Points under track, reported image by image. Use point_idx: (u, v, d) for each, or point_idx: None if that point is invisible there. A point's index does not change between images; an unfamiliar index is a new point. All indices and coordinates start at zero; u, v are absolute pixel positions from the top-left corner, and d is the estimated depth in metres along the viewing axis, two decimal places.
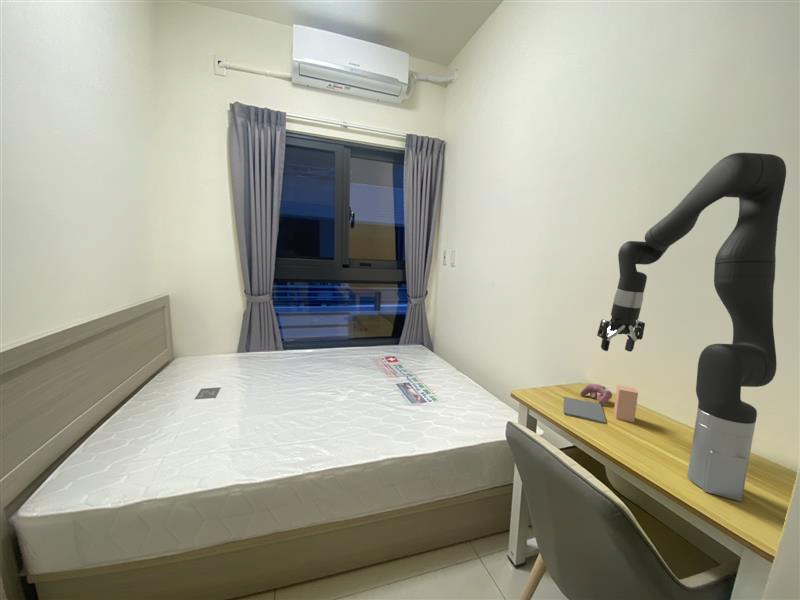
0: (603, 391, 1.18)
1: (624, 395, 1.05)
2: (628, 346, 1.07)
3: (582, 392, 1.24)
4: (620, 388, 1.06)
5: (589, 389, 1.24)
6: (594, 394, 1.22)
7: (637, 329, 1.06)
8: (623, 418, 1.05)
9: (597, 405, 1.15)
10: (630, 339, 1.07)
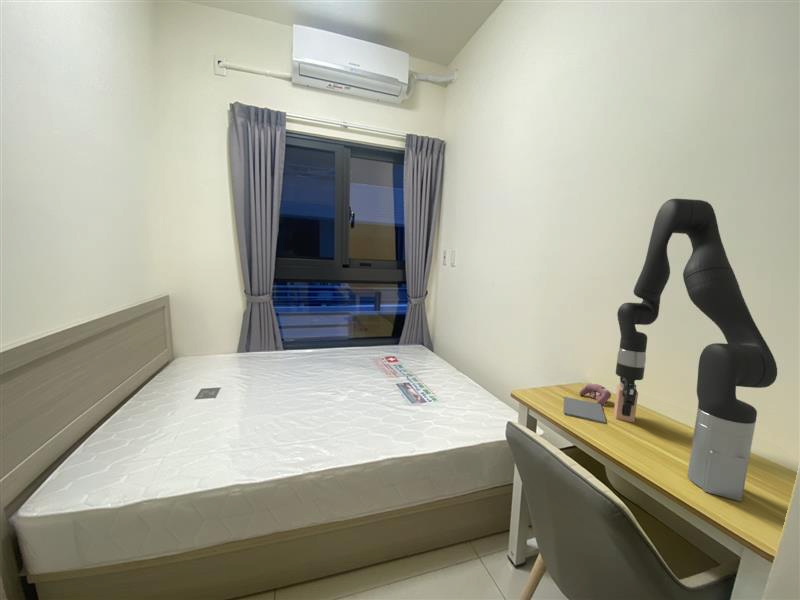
0: (602, 391, 1.18)
1: None
2: None
3: (581, 392, 1.24)
4: (621, 388, 1.06)
5: (588, 389, 1.24)
6: (593, 394, 1.22)
7: None
8: (623, 418, 1.05)
9: (597, 405, 1.15)
10: None
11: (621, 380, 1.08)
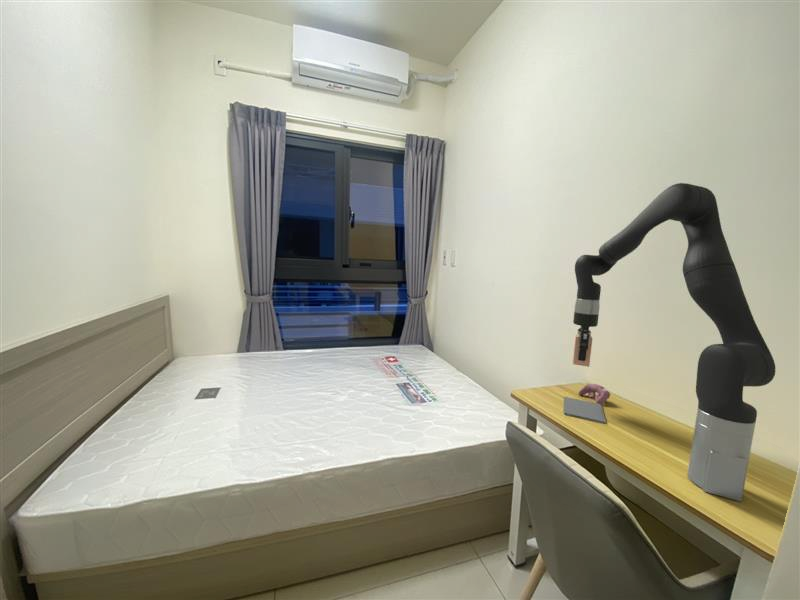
0: (601, 391, 1.19)
1: None
2: None
3: (580, 392, 1.25)
4: (577, 336, 1.14)
5: (587, 389, 1.24)
6: (592, 394, 1.23)
7: None
8: (579, 363, 1.13)
9: (597, 405, 1.15)
10: None
11: (578, 329, 1.16)
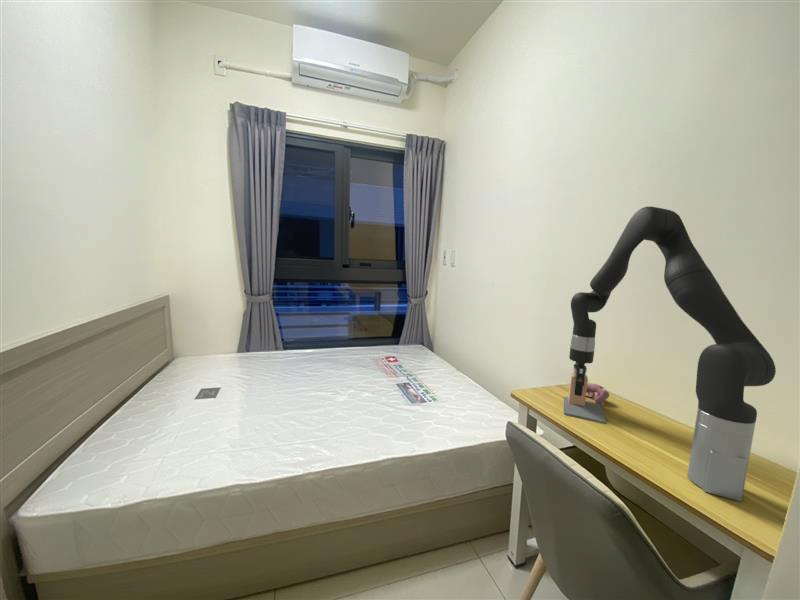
0: (600, 391, 1.19)
1: None
2: None
3: None
4: (573, 375, 1.15)
5: (587, 389, 1.24)
6: (592, 394, 1.23)
7: None
8: (575, 402, 1.15)
9: (597, 405, 1.15)
10: None
11: (574, 364, 1.17)
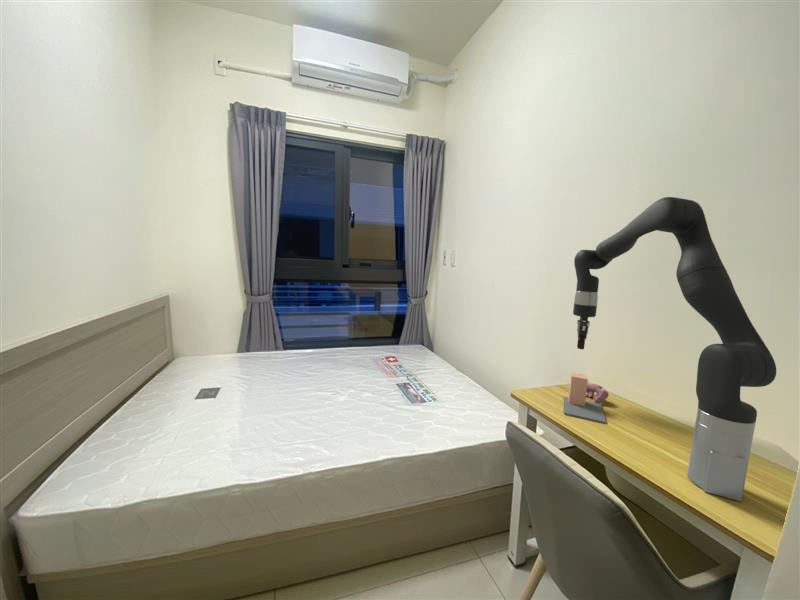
0: (599, 390, 1.19)
1: (576, 381, 1.14)
2: None
3: None
4: (573, 375, 1.15)
5: None
6: (591, 393, 1.23)
7: None
8: (575, 402, 1.15)
9: (597, 405, 1.15)
10: None
11: None
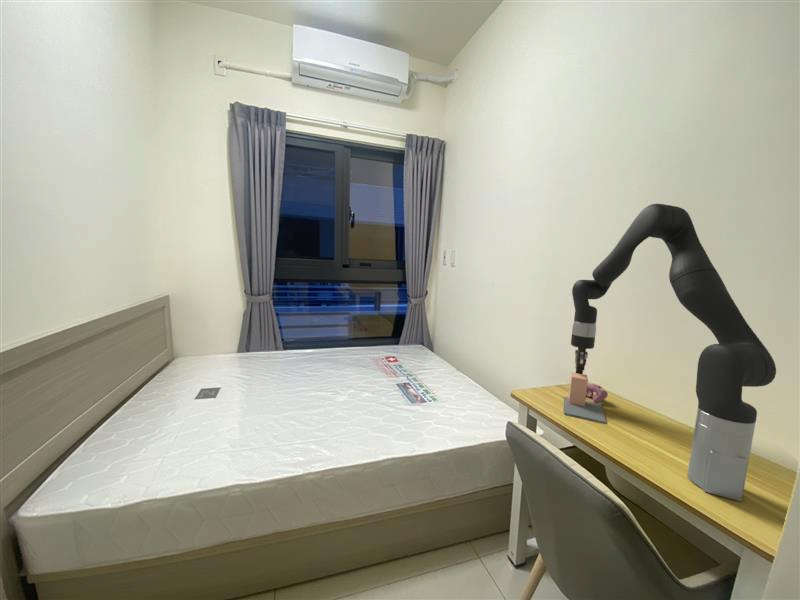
0: (598, 390, 1.19)
1: (576, 382, 1.14)
2: None
3: None
4: (573, 375, 1.15)
5: None
6: (590, 393, 1.23)
7: None
8: (575, 403, 1.15)
9: (597, 405, 1.15)
10: None
11: (576, 350, 1.20)
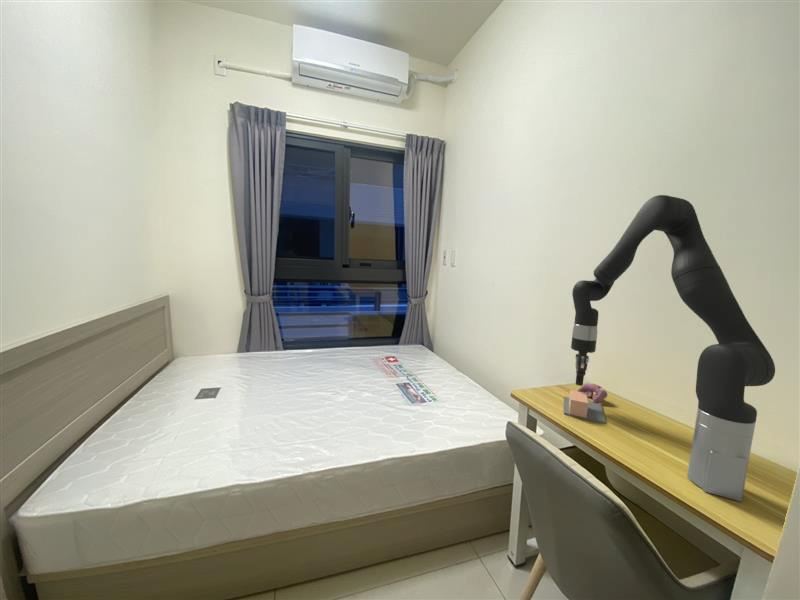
0: (598, 390, 1.19)
1: None
2: None
3: (578, 391, 1.25)
4: (571, 410, 1.06)
5: (585, 388, 1.25)
6: (590, 393, 1.23)
7: None
8: None
9: (597, 405, 1.15)
10: None
11: (576, 354, 1.15)
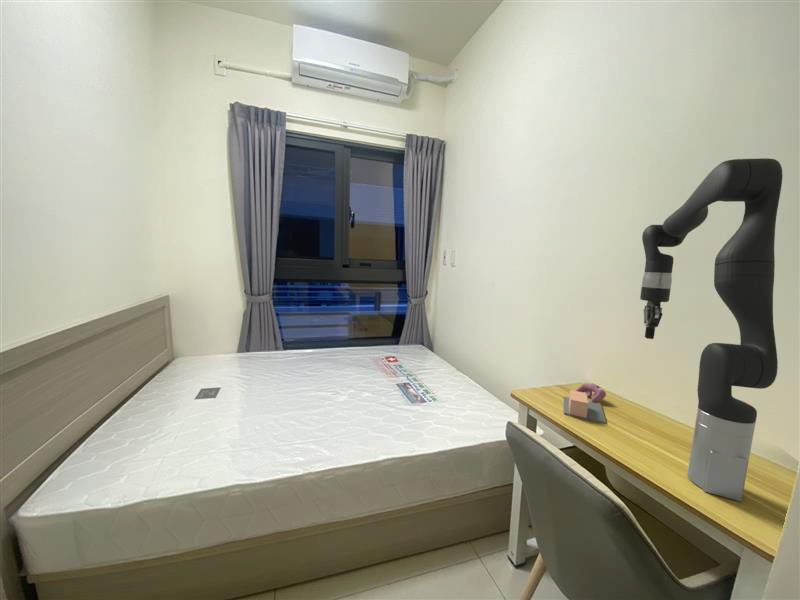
0: (597, 390, 1.19)
1: None
2: None
3: None
4: (571, 410, 1.06)
5: (584, 388, 1.25)
6: (589, 393, 1.23)
7: None
8: None
9: (597, 405, 1.15)
10: None
11: None
